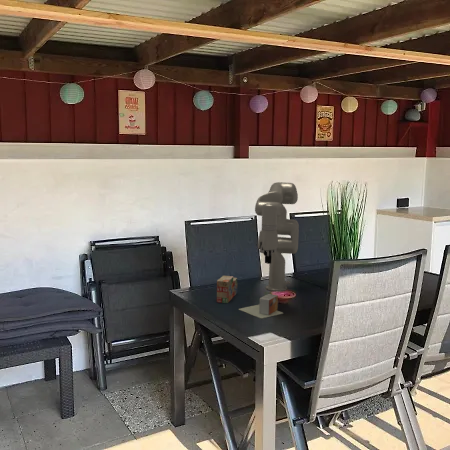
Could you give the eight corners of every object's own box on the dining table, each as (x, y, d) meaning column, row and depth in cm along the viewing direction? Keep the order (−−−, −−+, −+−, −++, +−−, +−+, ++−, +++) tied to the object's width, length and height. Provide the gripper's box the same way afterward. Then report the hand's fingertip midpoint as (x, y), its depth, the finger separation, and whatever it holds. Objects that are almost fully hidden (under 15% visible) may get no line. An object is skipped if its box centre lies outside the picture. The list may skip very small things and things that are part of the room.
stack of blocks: (226, 292, 294) (227, 271, 292) (237, 293, 293) (237, 272, 291) (216, 302, 274) (216, 280, 272) (227, 303, 272) (227, 281, 270)
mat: (260, 304, 270) (260, 304, 270) (283, 313, 256) (283, 312, 256) (238, 309, 261) (238, 308, 261) (261, 318, 247) (261, 318, 247)
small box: (277, 310, 261) (268, 315, 252) (267, 308, 264) (258, 313, 255) (278, 295, 259) (269, 300, 251) (268, 293, 262) (259, 298, 253)
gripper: (274, 225, 263) (273, 260, 265) (253, 228, 254) (252, 263, 256) (284, 227, 257) (283, 262, 259) (262, 230, 248) (261, 266, 250)
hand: (267, 263), depth 258 cm, fingers closed
